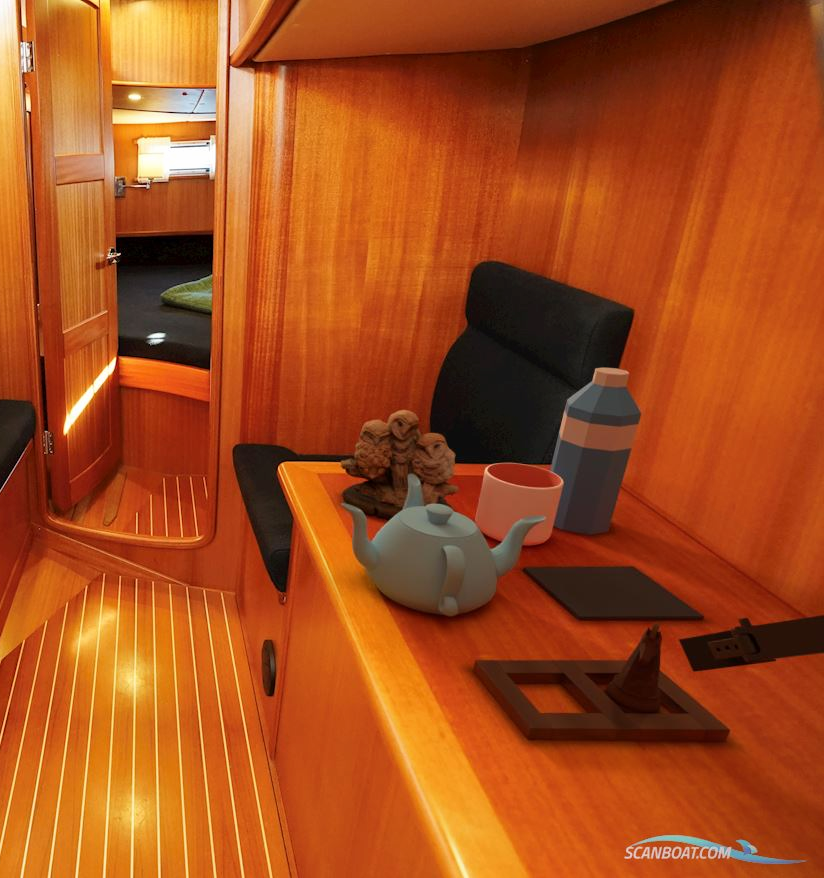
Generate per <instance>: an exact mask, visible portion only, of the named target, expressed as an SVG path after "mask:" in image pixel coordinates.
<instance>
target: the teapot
mask: <svg viewBox="0 0 824 878" xmlns="http://www.w3.org/2000/svg"><path fill="white" fill-rule="evenodd" d="M408 486H409V487H408V495H407V499H406V502H405V504H404V507H403V510H402V511H400V512H399V513H397V514H396V515H395V516H394V517H393V518H391V519H390V520H389V519H388V521H387V522H386V523H385V524H384V525H383V526H382V527H381V528H380V529H379V530H378V531H377V533H376V534H375V535H374V536H373V538H372V540H370V539H369V537H368V519H367V516H366V515H365V514H366V513H363V511H362V510H360V509H359V508H357V507H355V506H352V505H349V504H346V503H345V502H341V503H340V505H341V506H342V508H344V509H345V510H346V511H347V512H348V513H349V514H350V516H351V519H352V525H353V526H352V536H351V547H352V551H353V555H354V557H355V559H356V560H357V561H358V563H359V564H360V565H361V566H363V567H364V568H365V571H366V574H367V576H368V577H369V579H370V580H371V582H372V583H373V585H374V586H375V587H376V589H378V590H379V591H380V593H382V594H383V595H384V596H385V597H387V598H388V599H390V600H391V601H393V602H395V603H397V604H399V605H401V606H403V607H405V608H408V609H412V610H415V611H418V612H423V613H428V614H432V615H440V616H441V615H442V616H443V615H444V616H446V617H454V616H457V615H461V614H466V613H469V612H471V611H474V610H477V609H479V608H481V607H483V606H484V605H486V604H488V602H490V601H491V600H492V598H493V597H495V594H496V592H497V586H498V579H501V578H503V577H504V576H506V575H507V574H509V573H510V572H511V571H512V570H513V569H514V568H515V566H516V565H517V564H518V561H519V559H520V556H521V553H522V549H523V546H524V545H523V542H524V539H525V537H526V535H527V534H528V532H529V531H530V530H531V529H532V528H533V527H534V526H535V525H537V524H539V523H541V522H543V521H544V520H546V517H544V516H531V517H526V518H523V519H521V520H519V521H518V522H516V523H515V524H514V525H513V526H512V528H511V529H510V531H509V532H508V534H507V536H506V537H505V539H504V540H503V542H500V543H499V544H498V545H496V546H495V547H493V548H490V546H489V543H488V542H487V540H486V538H485V536H484V533H483V532H482V531H480V529H479V528H478V526H477V525H476V522H474V521H473V520H472V519H471V518H469V517H468V516H465V515H464V514H463V513H459V512H457V511H455V510H454V509H453V508H450V507H448V506H445V505H442V504H428V505H426V506H424V503H423V495H422V488H421V483H420V480H419V479H418V477H417V476H416V475H414V474H409V475H408Z"/></svg>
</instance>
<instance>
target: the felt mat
mask: <svg viewBox="0 0 824 878" xmlns="http://www.w3.org/2000/svg"><path fill="white" fill-rule="evenodd" d="M522 571H523V572H524V573H525V574H526V575H527V576H528V577H530V578H531V579H532V580H533V581H534V582H535V583H536V584H538V585H539V587H541V588H542V589H543V590H544V591H545V592H546V593H547V594H549V595H550V596H551V597H552V598H553V599H554V600H555V601H557V603H559V604H560V605H561V606H562V607H563V608H565V609H566V610H567V611H568V612H569V613H570V614H571V615H572V616H574V618H576V619H577V620H578V621H704V619H705V615H703V614H702V613H700V612H699V611H698V610H696V609H695V608H693V607H692V606H691V605H690V604H688V603H686V602H685V601H683V600H682V599H681V598H679V597H677V596H676V595H675V594H673V593H672V592H670V591H669V590H668V589H666V588H665V587H663V586H662V585H661V584H659V583H657V582H656V581H655V580H654V579H652V578H651V577H649V576H648V575H646V574H645V573H644V572H642V571H641V570H639V569H638V568H637V567H635V566H523V568H522Z"/></svg>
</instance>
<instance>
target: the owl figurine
mask: <svg viewBox="0 0 824 878" xmlns="http://www.w3.org/2000/svg"><path fill="white" fill-rule="evenodd" d="M419 427H420V419H419V417H418V416H417V414H416V413H415V412H413V411H410V410H407V409H400V410H397V411H396V412H393V413H392V414H390V415H389V417H388V419H387V423H386V422H384V421H382V420H381V419H373V420H369V421H366V422H365V423H364V424H363V425H362V428H361V431H360V434H359V439H358V442H357V443H356V444H355V445H354V447H355V452H354V455H353V456H354V459H353V458H348V459H345V460H340V467H341V468H342V469H343V470H344V472H345V473H346V474H347V475H349V476H350V477H353V478H358V479H364V481H362V482H358V483H355V484H352V485H351V486H348V487H346V488H345V489H344V490H343V492H342V499H343V502H344V503H345V504H349V505H352V506H355V507H357V508H359V509H360V510H362V511H363V513H364V514H368V515H369V516H373V515H374V514H375V513H376V516H377V517H378V518H380V519H385V520H388V521H389V520H390V519H391V518H393V517H394V516H395V515H396V514H397V513H399V512H400V511H402V510H403V507H404V504H405V502H406V499H407V495H408V487H409V486H408V475H409V474H414V475H416V476H417V477H418V479H419V480H420V483H421V488H422V495H423V503H424V506H426V505H428V504H442V505H445V506H448V507H450V508H452V506H451V504H450V503H448V501H447V500H446V497H447V496H453V495H454V494H458V492H459V486H456V485H454V484H451V483H449V481H450V480H451V478H452V477H453V476H454V474H455V466H456V462H455V459H456V456H457V455H456V453H455V452H454V451H453V450H452V449H451V448H449V446H448V443H447V441H446V438H445V436H444V435H443V434H441V433H438V432H437V433H436V432H427V433H423V434H422V433H421V432H420V430H419V429H418V428H419ZM375 509H376V511H377V512H376V511H375ZM452 509H453V508H452Z"/></svg>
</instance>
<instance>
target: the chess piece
mask: <svg viewBox="0 0 824 878" xmlns="http://www.w3.org/2000/svg"><path fill="white" fill-rule="evenodd" d="M660 625H661V622H658V621H654V622H653V625H652V627H651V628H650V627H649V626H648V627H647V629H646V630H645V631H644V632H643V633H642V636H641V638H640V641H639V642H638V644H637V645H636V646H635V648H634V649H633V651H632V652H631V653H630V655H629V657H628V658H627V662H626V664H625V665H624V667H623V669H622V671H621V673H620V674H617V675H615V676H614V679H613V681H611V682H610V683H609V684H607V686H606V688H605V690H604V691H603V692H604V693H605V694H606V695H607V696H608V697H609V698H610V699H611V700H612V701H613V702H614V703H615V704H616V705H617V706H618V707H619V708H620V709H621V710H622V711H623V712H624V713H625V714H626V713H641V714H660V712H661V707H662V704H661V701H660V698H659V696H660V690H659V689H658V687H657V686H658V681H659V671H660V669H661V653H662V651H661V650H662V642H663V636H662V631H661V630H659V629H660V627H661V626H660Z"/></svg>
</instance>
